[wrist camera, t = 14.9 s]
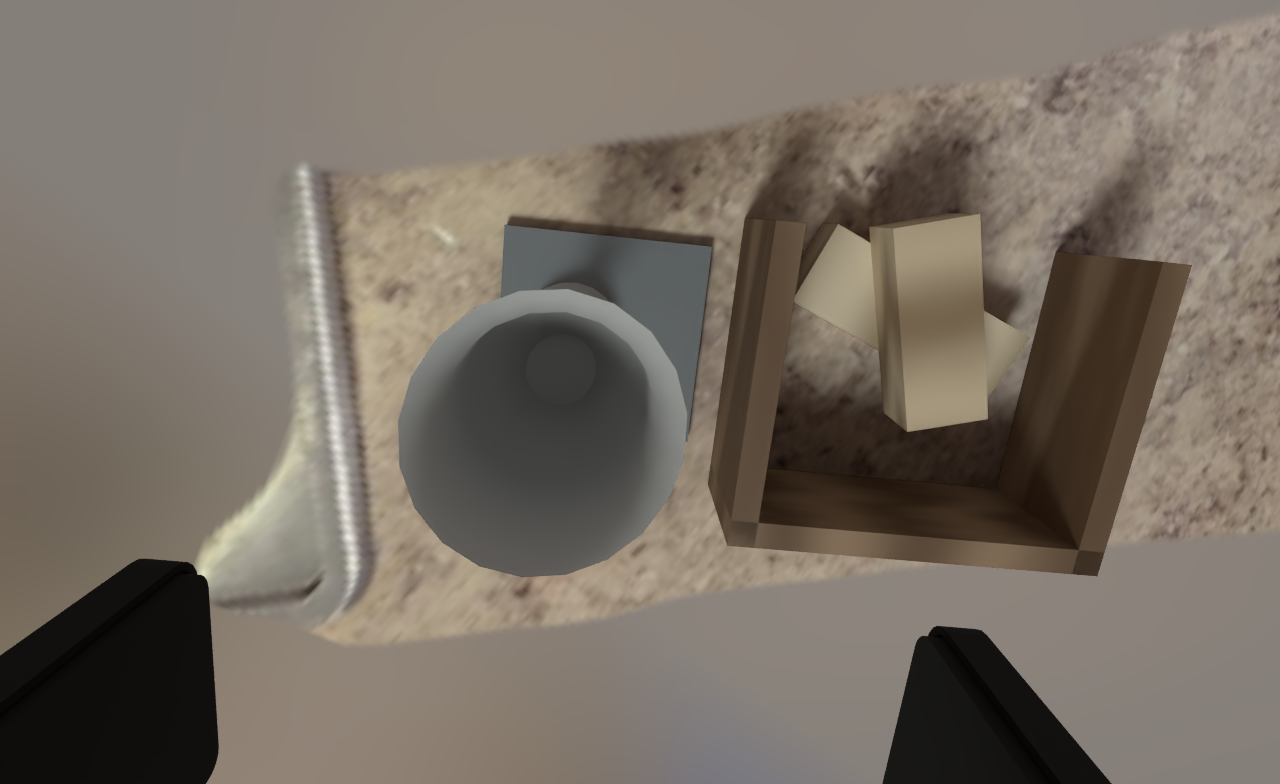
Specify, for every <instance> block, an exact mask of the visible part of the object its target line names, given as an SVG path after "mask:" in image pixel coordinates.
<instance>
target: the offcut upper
mask: <svg viewBox="0 0 1280 784" xmlns="http://www.w3.org/2000/svg"><path fill="white" fill-rule="evenodd" d="M869 232H870V245H871V257H872V270H873V283H874V295H875V308H876V321H877V333H878V346H879V359H880V371H881V384H882V397H883V409H884V413H885V414H886V415H887V416H888V417H890V418H891V419H892V420H893V421H895V422H896V423H897V424H898V425H899V426H901V427H902V428H903V429H904V430H906V431H907V432H910V431H917V430H923V429H929V428H935V427H942V426H948V425H954V424H960V423H967V422H973V421H979V420H985V419H988V407H987V381H986V354H985V328H984V302H983V275H982V249H981V222H980V214H958V213H947V214H941V215H936V216H930V217H924V218H918V219H912V220H906V221H900V222H895V223H889V224H883V225H877V226H871V227H869Z"/></svg>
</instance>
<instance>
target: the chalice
mask: <svg viewBox="0 0 1280 784" xmlns="http://www.w3.org/2000/svg"><path fill="white" fill-rule="evenodd" d="M686 426H687V411H686V407H685V403H684V399H683V395H682V391H681V387H680V383H679V379H678V375H677V371H676V369H675V367H674V366H673V364H672V363H671V361H670V360H669V358H668V357H667V355H666V354H665V352H664V350H663V349H662V347H661V346H660V344H659V343H658V341H657V340H656V338H655V337H654V335H653V334H652V332H651V331H650V330H648V329H647V328H646V327H644V326H643V325H642V324H640V323H639V322H638V321H636V320H635V319H634V318H632V317H631V316H630V315H629V314H627V313H626V312H625V311H623V310H622V309H621V308H619V307H618V306H617V305H615V304H614V303H611V302H609V301H608V300H607V298H606V297H605V296H603V295H602V294H601V293H599V292H598V291H597V290H595V289H594V288H592V287H589V286H586V285H583V284H580V283H558V284H555V285H552V286H549V287H546V288H544V289H543V290H530V291H518V292H515V293H513V294H510V295H508V296H505V297H502V298H500V299H497V300H494V301H492V302H489V303H486V304H484V305H481V306H478V307H476V308H474V309H473V310H471V311H470V312H469V313H468V314H466V315H465V316H464V317H463V318H461V319H460V320H459V321H458V322H456V323H455V324H454V325H453V326H451V327H450V328H449V329H448V330H446V331H445V332H444V333H443V334H441V335H440V336H439V337H438V338H437V339H436V340H435V342H434V343H433V345H432V346H431V348H430V349H429V351H428V352H427V354H426V355H425V357H424V358H423V360H422V361H421V363H420V364H419V366H418V367H417V369H416V370H415V372H414V373H413V375H412V376H411V379H410V383H409V386H408V390H407V393H406V396H405V400H404V403H403V407H402V410H401V414H400V417H399V420H398V428H399V464H400V469H401V471H402V474H403V477H404V480H405V483H406V485H407V488H408V491H409V494H410V496H411V499H412V502H413V505H414V507H415V509H416V510H417V511H418V513H419V514H420V515H421V516H422V518H423V519H424V520H425V521H426V523H427V524H428V525H429V526H430V528H431V529H432V530H433V531H434V533H435V534H436V535H437V536H438V538H439V539H440V540H441V541H442V543H444V544H446V545H447V546H449V547H450V548H452V549H453V550H455V551H456V552H458V553H460V554H461V555H463V556H464V557H466V558H467V559H469V560H471V561H472V562H474V563H475V564H477V565H478V566H480V567H484V568H488V569H492V570H496V571H500V572H504V573H508V574H512V575H516V576H520V577H533V576H550V575H566V574H569V573H572V572H575V571H577V570H580V569H583V568H585V567H588V566H591V565H593V564H596V563H599V562H602V561H604V560H607V559H609V558H610V557H611V556H613V555H614V554H615V553H617V552H618V551H619V550H621V549H622V548H623V547H625V546H626V545H627V544H629V543H630V542H631V541H633V540H634V539H635V538H637V537H638V536H639V535H641V534H642V533H643V532H644V531H645V529H646V528H647V527H648V525H649V524H650V523H651V521H652V520H653V519H654V517H655V516H656V515H657V513H658V512H659V511H660V509H661V508H662V507H663V505H664V504H665V503H666V502H667V500H668V499H669V497H670V494H671V491H672V489H673V486H674V483H675V481H676V478H677V476H678V473H679V470H680V468H681V465H682V463H683V460H684V455H685V440H686Z"/></svg>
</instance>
